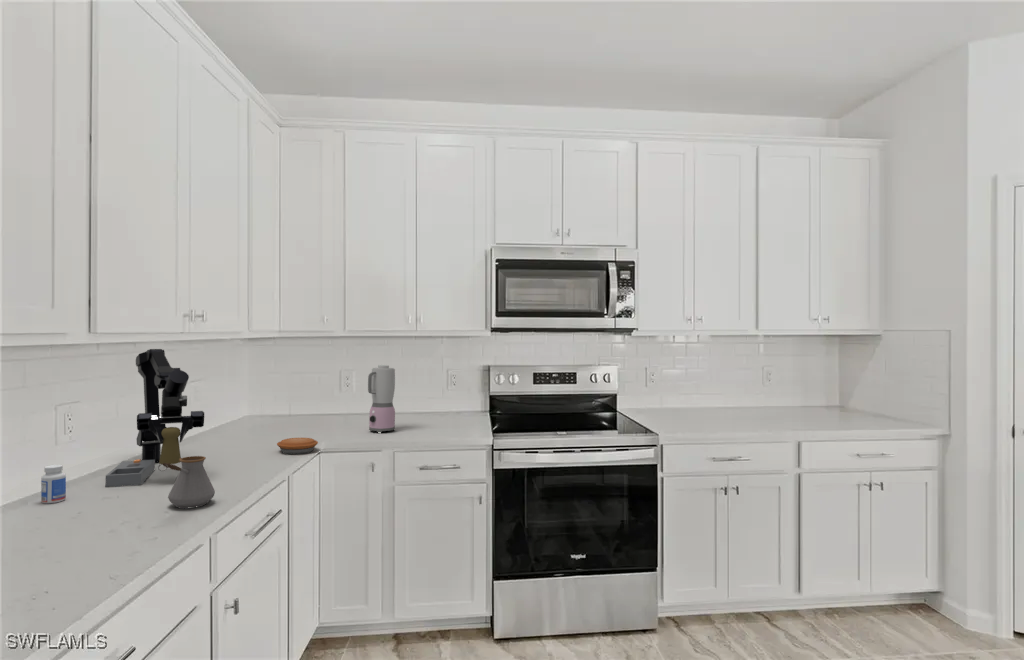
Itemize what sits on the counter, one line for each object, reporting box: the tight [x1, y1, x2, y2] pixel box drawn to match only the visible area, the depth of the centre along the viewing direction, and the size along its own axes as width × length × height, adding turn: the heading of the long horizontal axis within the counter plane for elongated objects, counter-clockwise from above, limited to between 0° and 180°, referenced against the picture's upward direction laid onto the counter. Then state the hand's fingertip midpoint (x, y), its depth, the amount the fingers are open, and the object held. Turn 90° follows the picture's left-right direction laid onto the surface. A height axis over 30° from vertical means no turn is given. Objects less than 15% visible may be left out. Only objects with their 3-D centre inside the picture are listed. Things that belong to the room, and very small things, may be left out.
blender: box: [367, 364, 396, 433], centre depth 284 cm, size 16×12×32 cm
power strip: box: [104, 458, 156, 488], centre depth 190 cm, size 20×9×4 cm, turn 21°
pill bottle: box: [40, 464, 67, 504], centre depth 164 cm, size 6×5×10 cm
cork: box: [158, 426, 182, 465], centre depth 186 cm, size 6×6×11 cm
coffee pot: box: [157, 455, 216, 509], centre depth 159 cm, size 21×12×15 cm, turn 3°
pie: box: [276, 437, 319, 455], centre depth 236 cm, size 15×16×5 cm
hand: (170, 442), depth 184 cm, fingers closed on cork, 5 cm apart
